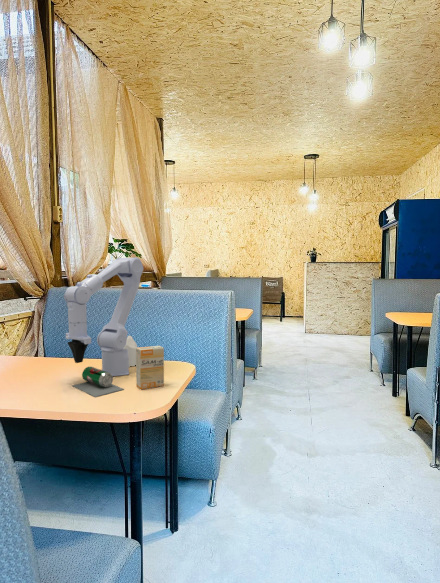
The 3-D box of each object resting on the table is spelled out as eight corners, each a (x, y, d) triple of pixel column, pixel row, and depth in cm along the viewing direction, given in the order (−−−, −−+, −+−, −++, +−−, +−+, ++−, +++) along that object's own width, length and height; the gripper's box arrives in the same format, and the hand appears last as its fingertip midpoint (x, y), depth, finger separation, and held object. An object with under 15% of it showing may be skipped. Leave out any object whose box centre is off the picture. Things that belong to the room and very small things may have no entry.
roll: (132, 337, 154) (119, 336, 156) (132, 367, 155) (120, 366, 157) (139, 334, 160) (127, 333, 162) (140, 363, 161) (128, 362, 162)
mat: (72, 386, 132) (72, 385, 132) (99, 379, 139) (99, 379, 139) (95, 397, 121) (95, 396, 121) (123, 389, 128) (123, 388, 128)
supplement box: (140, 390, 127) (139, 350, 127) (136, 386, 132) (135, 347, 131) (164, 386, 131) (164, 347, 130) (159, 382, 136) (159, 344, 135)
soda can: (78, 376, 134) (97, 383, 126) (87, 363, 136) (106, 369, 128) (88, 383, 137) (107, 391, 129) (97, 371, 139) (116, 377, 131)
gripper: (56, 321, 135) (57, 360, 136) (76, 325, 125) (77, 368, 126) (76, 319, 140) (77, 357, 141) (96, 323, 130) (97, 364, 131)
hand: (78, 362), depth 134 cm, fingers closed
